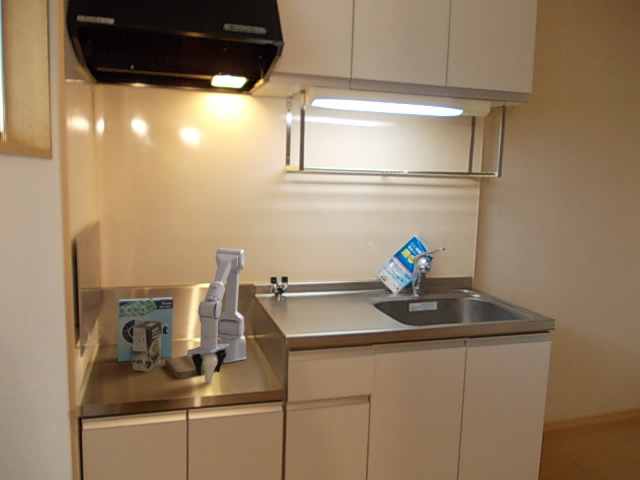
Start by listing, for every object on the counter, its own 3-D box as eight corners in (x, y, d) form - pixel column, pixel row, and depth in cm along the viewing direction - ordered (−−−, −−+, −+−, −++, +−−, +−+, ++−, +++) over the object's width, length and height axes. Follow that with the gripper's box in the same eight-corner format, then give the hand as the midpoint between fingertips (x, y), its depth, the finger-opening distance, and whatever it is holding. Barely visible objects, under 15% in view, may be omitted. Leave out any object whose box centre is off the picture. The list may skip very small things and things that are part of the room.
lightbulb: (208, 387, 170) (209, 356, 169) (195, 383, 174) (196, 352, 172) (221, 381, 176) (221, 351, 174) (208, 377, 179) (208, 347, 177)
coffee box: (148, 372, 180) (148, 328, 178) (132, 370, 181) (132, 326, 179) (161, 363, 189) (162, 321, 187) (145, 361, 190) (146, 319, 188)
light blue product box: (118, 362, 187) (118, 302, 184) (117, 357, 192) (118, 299, 189) (172, 357, 195) (173, 299, 192) (170, 352, 200) (171, 296, 197)
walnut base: (201, 359, 195) (201, 353, 195) (215, 372, 184) (216, 365, 183) (165, 365, 187) (165, 359, 187) (178, 379, 176) (178, 372, 175)
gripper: (192, 341, 165) (192, 381, 167) (233, 335, 173) (232, 373, 175) (185, 335, 171) (184, 373, 172) (225, 329, 179) (223, 366, 181)
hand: (208, 373), depth 174 cm, fingers open, 6 cm apart
